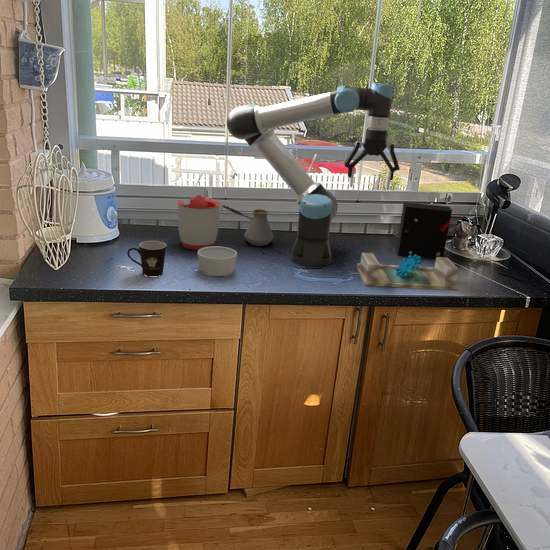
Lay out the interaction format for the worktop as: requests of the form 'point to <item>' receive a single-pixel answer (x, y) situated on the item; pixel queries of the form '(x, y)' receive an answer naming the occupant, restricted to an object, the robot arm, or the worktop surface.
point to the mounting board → (428, 277)
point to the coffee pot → (257, 227)
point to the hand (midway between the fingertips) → (368, 187)
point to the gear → (409, 266)
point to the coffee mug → (151, 257)
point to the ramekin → (217, 260)
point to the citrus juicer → (198, 222)
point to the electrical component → (423, 230)
